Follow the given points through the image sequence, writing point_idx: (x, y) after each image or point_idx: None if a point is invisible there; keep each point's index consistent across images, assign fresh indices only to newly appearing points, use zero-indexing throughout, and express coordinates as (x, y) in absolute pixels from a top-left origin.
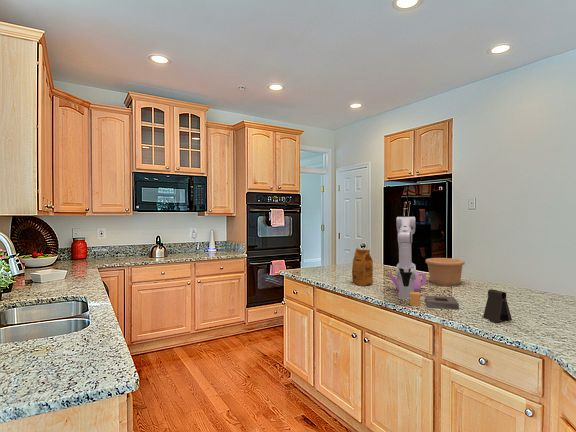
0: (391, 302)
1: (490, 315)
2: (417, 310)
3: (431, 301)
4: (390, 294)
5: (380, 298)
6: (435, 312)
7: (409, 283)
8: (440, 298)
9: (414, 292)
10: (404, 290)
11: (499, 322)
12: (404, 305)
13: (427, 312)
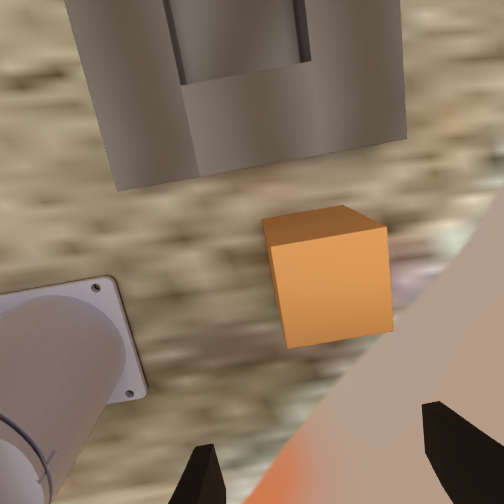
0: (278, 415)
1: None
2: (453, 214)
3: (361, 101)
4: None
5: None
6: (479, 65)
7: (36, 415)
8: (164, 9)
9: (304, 297)
10: (100, 401)
11: None
12: None
13: (494, 132)
